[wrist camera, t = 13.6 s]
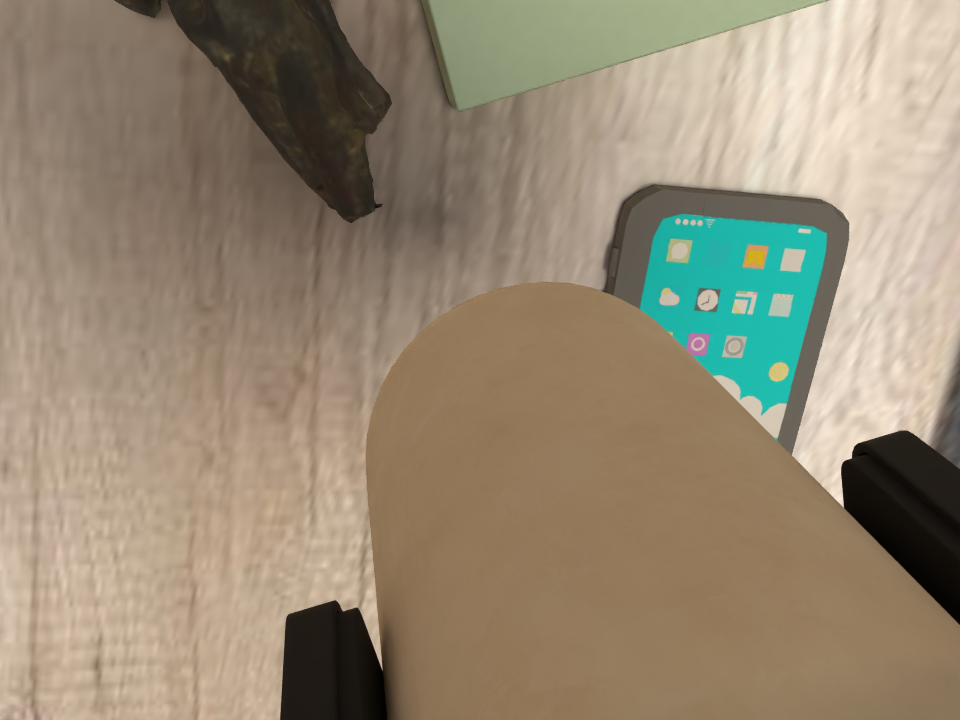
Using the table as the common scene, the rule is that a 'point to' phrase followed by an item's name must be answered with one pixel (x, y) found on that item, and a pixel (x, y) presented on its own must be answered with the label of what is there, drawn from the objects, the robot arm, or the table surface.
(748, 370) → the smartphone
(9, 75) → the table surface
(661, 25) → the scale
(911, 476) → the robot arm
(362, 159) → the statue
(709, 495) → the candle
